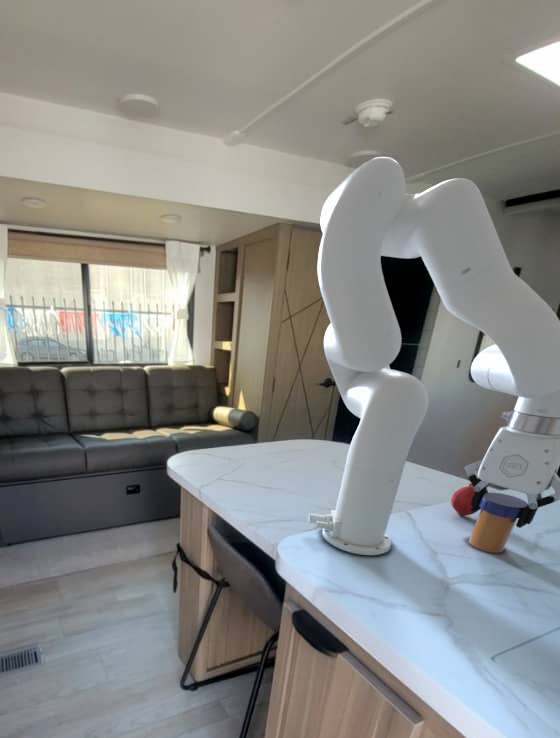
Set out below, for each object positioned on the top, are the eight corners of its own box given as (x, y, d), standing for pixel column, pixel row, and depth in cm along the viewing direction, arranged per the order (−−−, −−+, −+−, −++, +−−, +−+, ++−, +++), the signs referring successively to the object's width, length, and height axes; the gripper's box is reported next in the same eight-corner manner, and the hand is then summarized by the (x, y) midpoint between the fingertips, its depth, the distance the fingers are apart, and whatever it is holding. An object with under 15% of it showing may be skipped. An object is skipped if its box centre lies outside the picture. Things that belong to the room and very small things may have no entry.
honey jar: (476, 550, 77) (494, 506, 73) (463, 536, 82) (480, 494, 78) (508, 554, 76) (529, 509, 72) (494, 540, 81) (513, 497, 77)
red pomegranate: (453, 508, 95) (465, 476, 92) (481, 517, 91) (494, 484, 87) (441, 513, 92) (453, 481, 89) (469, 523, 88) (482, 490, 84)
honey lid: (489, 516, 74) (493, 505, 73) (472, 501, 80) (476, 490, 79) (531, 520, 72) (536, 509, 72) (511, 505, 79) (515, 494, 78)
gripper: (470, 416, 74) (440, 505, 81) (597, 439, 61) (546, 542, 68) (489, 412, 77) (458, 497, 85) (611, 433, 64) (562, 531, 72)
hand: (497, 516), depth 77 cm, fingers closed on honey lid, 6 cm apart
